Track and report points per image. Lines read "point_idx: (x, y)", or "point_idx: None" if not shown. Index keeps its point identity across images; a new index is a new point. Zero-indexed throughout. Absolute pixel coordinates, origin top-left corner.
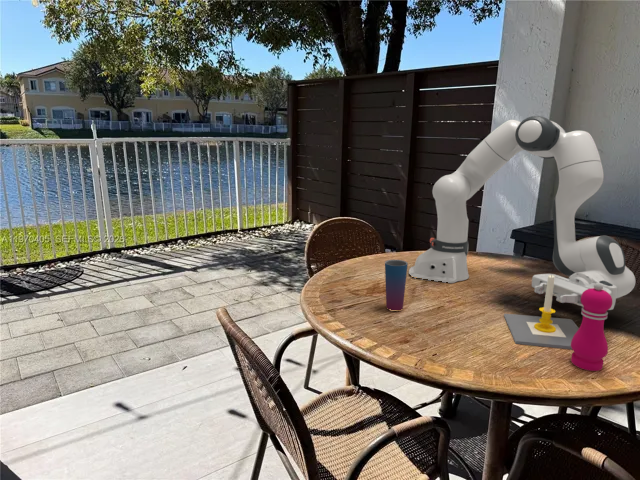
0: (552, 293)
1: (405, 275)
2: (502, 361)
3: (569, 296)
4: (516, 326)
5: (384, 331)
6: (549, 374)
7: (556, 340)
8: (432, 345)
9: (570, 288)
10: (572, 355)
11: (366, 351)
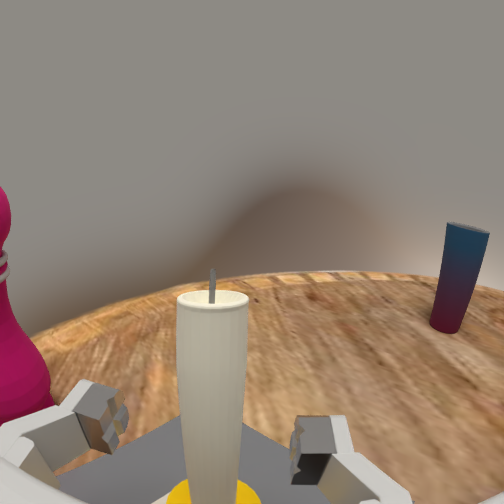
0: (183, 441)
1: (456, 252)
2: (173, 339)
3: (42, 413)
4: (289, 472)
5: (352, 295)
6: (86, 351)
7: (122, 482)
8: (285, 310)
9: (42, 497)
10: (50, 396)
11: (299, 272)
